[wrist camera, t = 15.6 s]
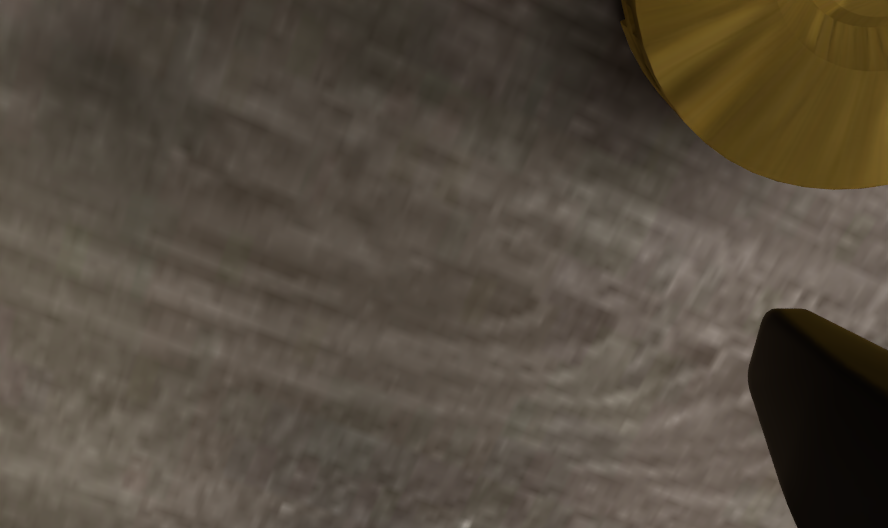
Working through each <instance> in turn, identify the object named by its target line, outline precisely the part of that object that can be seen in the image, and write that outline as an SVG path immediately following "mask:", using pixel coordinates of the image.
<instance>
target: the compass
mask: <svg viewBox="0 0 888 528" xmlns="http://www.w3.org/2000/svg"><path fill="white" fill-rule="evenodd" d="M621 2H622V6H623V11H624V15H625V19H624V20H622V21H620V23H621V25H622V28H623V31H624V33H625V36H626V39H627V41H628V44H629V47H630V49H631V51H632V53H633V55H634V56H635V58H636V60H637V62H638V64H639V66H640V67H641V69H642V71H643V73H644V74H645V76H646V77H647V78H648V80H649V81H650V82H651V84H652V85H653V86H654V88H655V89H656V90H657V92H658V93H659V94H660V95H661V97H662V98H663V99H664V100H665V101H666V102H667V103H668V104H669V106H670V107H671V108H672V109H673V110H674V111H675V112H676V113H677V114H678V116H679V117H680V118H681V119H682V120H683V121H684V122H685V123H686V124H687V125H688V126H689V127H690V128H691V129H692V130H693V131H694V132H695V133H696V134H697V135H698V136H699V137H700V138H701V139H702V140H703V141H704V142H705V143H706V144H707V145H709V146H710V147H711V148H713V149H714V150H715V151H717V152H718V153H719V154H721V155H722V156H724V157H725V158H726V159H728V160H730V161H731V162H733V163H735V164H737V165H739V166H741V167H743V168H745V169H747V170H749V171H750V172H753V173H755V174H758V175H761V176H764V177H767V178H769V179H772V180H775V181H778V182H783V183H787V184H792V185H797V186H801V187H808V188H820V189H833V190H835V189H861V188H869V187H876V186H882V185H888V0H621Z"/></svg>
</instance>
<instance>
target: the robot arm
mask: <svg viewBox="0 0 888 528" xmlns="http://www.w3.org/2000/svg"><path fill="white" fill-rule="evenodd" d="M748 384H749V389H750V393H751V396H752V399H753V402H754V405H755V408H756V411H757V414H758V418H759V421H760V424H761V427H762V430H763V433H764V436H765V439H766V442H767V445H768V449H769V452H770V455H771V458H772V461H773V464H774V467H775V470H776V473H777V476H778V480H779V483H780V485H781V488H782V491H783V494H784V497H785V499H786V502H787V505H788V507H789V509H790V512H791V514H792V516H793V519H794V521H795V523H796V525H797V528H888V350H886V349H884V348H882V347H880V346H878V345H876V344H874V343H872V342H870V341H868V340H866V339H864V338H862V337H860V336H858V335H856V334H854V333H852V332H850V331H848V330H846V329H844V328H842V327H840V326H838V325H836V324H834V323H832V322H830V321H828V320H826V319H824V318H822V317H820V316H818V315H816V314H814V313H812V312H810V311H808V310H806V309H771V310H770V311H768V312H767V313H766V314H765V315H764V317H763V319H762V322H761V325H760V329H759V332H758V336H757V339H756V343H755V346H754V350H753V354H752V357H751V361H750V364H749V369H748Z"/></svg>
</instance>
